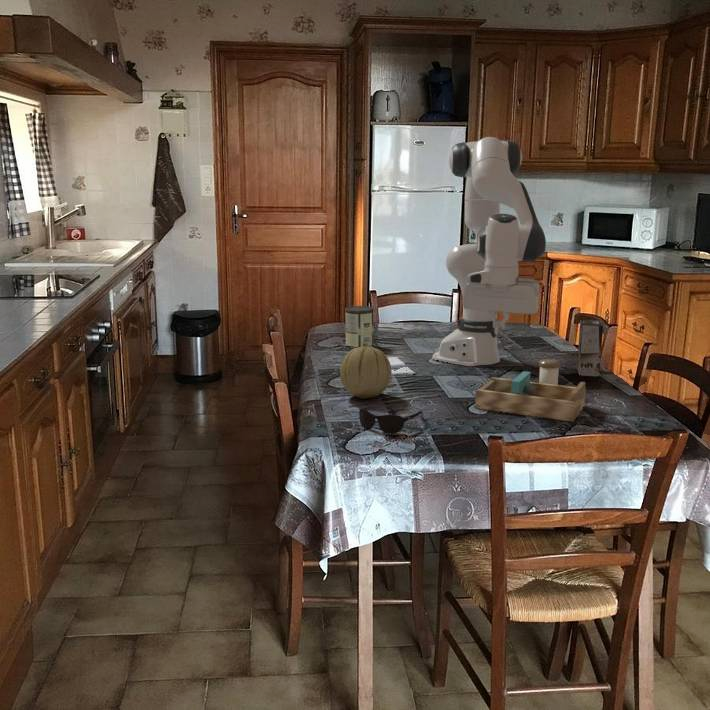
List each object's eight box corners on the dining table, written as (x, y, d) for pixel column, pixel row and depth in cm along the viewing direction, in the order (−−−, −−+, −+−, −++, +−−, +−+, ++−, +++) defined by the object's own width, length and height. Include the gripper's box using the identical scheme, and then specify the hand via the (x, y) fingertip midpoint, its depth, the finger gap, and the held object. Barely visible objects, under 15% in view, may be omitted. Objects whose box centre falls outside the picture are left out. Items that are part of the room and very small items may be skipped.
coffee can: (355, 342, 291) (355, 304, 287) (379, 345, 285) (379, 307, 282) (339, 347, 282) (339, 309, 279) (364, 351, 277) (364, 311, 274)
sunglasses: (352, 427, 197) (352, 408, 196) (385, 411, 210) (386, 393, 209) (399, 437, 190) (399, 418, 189) (430, 420, 203) (431, 401, 201)
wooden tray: (475, 408, 212) (476, 383, 210) (491, 394, 224) (492, 370, 223) (573, 421, 200) (574, 395, 198) (584, 406, 213) (586, 381, 211)
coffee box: (600, 376, 242) (603, 325, 239) (578, 375, 244) (581, 324, 240) (597, 369, 251) (600, 320, 247) (576, 368, 252) (579, 319, 248)
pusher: (510, 406, 209) (511, 381, 207) (522, 395, 219) (523, 371, 217) (529, 409, 206) (530, 383, 205) (540, 397, 216) (541, 373, 215)
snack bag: (399, 361, 264) (399, 355, 264) (416, 377, 245) (416, 370, 244) (343, 365, 260) (343, 358, 260) (356, 380, 241) (356, 374, 241)
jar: (535, 393, 224) (537, 362, 222) (540, 389, 229) (542, 358, 227) (555, 396, 222) (557, 364, 220) (559, 391, 227) (561, 360, 225)
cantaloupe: (352, 407, 213) (352, 353, 209) (332, 393, 226) (331, 342, 222) (401, 400, 218) (401, 348, 215) (378, 387, 231) (378, 337, 228)
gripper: (543, 277, 206) (540, 329, 210) (468, 273, 215) (467, 322, 219) (537, 280, 201) (534, 333, 204) (461, 275, 210) (459, 326, 213)
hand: (499, 327), depth 211 cm, fingers closed
